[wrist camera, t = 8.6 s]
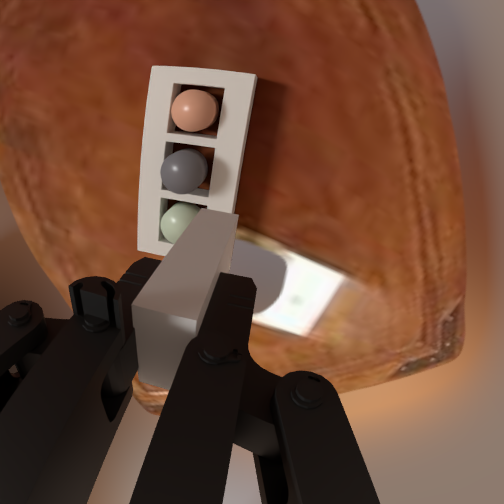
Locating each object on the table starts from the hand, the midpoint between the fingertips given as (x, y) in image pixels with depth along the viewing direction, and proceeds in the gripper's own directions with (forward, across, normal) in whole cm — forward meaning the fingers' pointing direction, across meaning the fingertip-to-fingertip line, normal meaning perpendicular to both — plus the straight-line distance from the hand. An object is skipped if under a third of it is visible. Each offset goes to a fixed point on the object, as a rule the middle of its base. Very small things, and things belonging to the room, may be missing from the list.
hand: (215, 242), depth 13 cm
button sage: (+25, -8, -10) cm, 28 cm away
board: (+26, -8, -3) cm, 28 cm away
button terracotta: (+25, -8, +4) cm, 27 cm away
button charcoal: (+24, -8, -3) cm, 25 cm away
